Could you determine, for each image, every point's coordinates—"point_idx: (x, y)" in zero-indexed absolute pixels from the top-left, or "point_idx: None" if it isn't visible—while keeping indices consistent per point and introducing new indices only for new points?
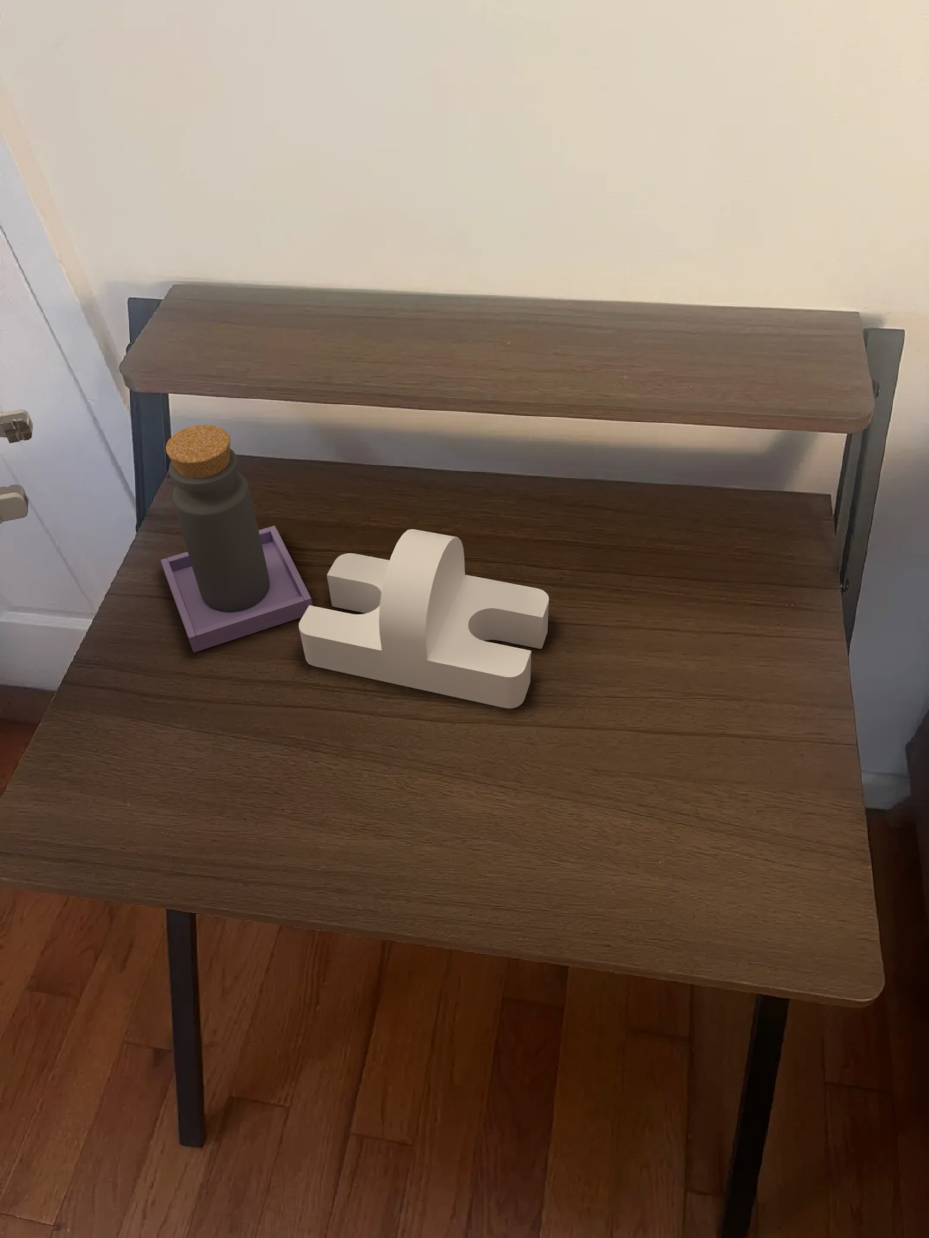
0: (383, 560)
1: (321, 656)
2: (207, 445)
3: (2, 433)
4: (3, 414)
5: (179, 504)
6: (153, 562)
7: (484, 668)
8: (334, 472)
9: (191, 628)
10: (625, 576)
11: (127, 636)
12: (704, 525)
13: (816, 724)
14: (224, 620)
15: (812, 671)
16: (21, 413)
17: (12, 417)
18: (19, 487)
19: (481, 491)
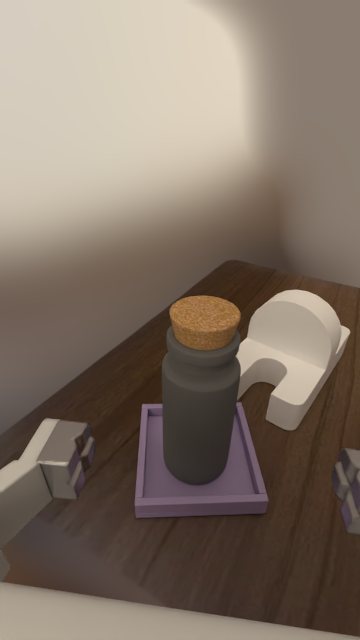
0: None
1: (303, 412)
2: (213, 306)
3: (35, 505)
4: (31, 456)
5: (218, 386)
6: (107, 527)
7: (342, 337)
8: (88, 368)
9: (255, 495)
10: (251, 301)
11: (220, 586)
12: (227, 278)
13: (350, 289)
14: (235, 472)
15: (321, 283)
16: (60, 421)
17: (61, 439)
18: (351, 449)
19: (160, 320)
